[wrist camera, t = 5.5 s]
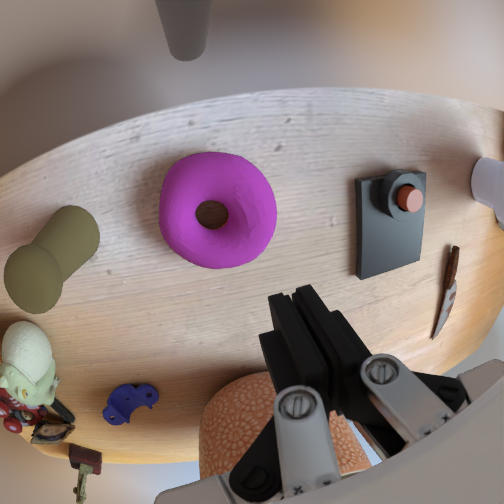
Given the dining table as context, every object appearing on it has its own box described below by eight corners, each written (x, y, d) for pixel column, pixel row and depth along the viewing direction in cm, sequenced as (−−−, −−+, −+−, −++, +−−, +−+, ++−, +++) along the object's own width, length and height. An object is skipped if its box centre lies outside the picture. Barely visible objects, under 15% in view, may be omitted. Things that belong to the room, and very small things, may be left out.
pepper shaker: (109, 251, 25) (72, 318, 15) (65, 268, 25) (21, 332, 15) (86, 196, 22) (28, 239, 13) (42, 217, 22) (-18, 266, 12)
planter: (308, 326, 34) (378, 452, 17) (330, 399, 43) (372, 483, 26) (164, 380, 33) (168, 510, 17) (225, 437, 43) (243, 525, 26)
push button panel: (354, 172, 27) (370, 177, 24) (419, 164, 28) (436, 169, 25) (355, 275, 32) (368, 288, 30) (414, 256, 34) (427, 266, 31)
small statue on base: (102, 462, 45) (103, 512, 32) (72, 455, 41) (70, 504, 28) (102, 450, 42) (103, 507, 29) (68, 441, 38) (65, 498, 25)
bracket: (96, 412, 29) (94, 401, 31) (117, 429, 30) (114, 419, 33) (146, 381, 32) (142, 371, 35) (164, 400, 34) (159, 390, 36)
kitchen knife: (447, 331, 44) (433, 343, 43) (442, 327, 45) (427, 339, 44) (471, 240, 34) (457, 250, 33) (464, 236, 35) (449, 246, 34)
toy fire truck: (15, 438, 26) (56, 436, 31) (-20, 399, 21) (25, 397, 26) (15, 411, 31) (53, 408, 36) (-15, 371, 26) (27, 367, 31)
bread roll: (29, 445, 28) (23, 429, 29) (61, 445, 35) (55, 431, 37) (42, 426, 28) (35, 408, 30) (78, 426, 35) (71, 410, 37)
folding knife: (77, 423, 34) (66, 423, 34) (78, 418, 35) (68, 418, 35) (42, 389, 30) (32, 390, 30) (44, 384, 31) (34, 385, 31)
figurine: (70, 332, 28) (45, 391, 19) (59, 395, 32) (46, 443, 23) (8, 297, 24) (-28, 345, 15) (10, 368, 28) (-10, 411, 19)
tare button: (396, 186, 25) (406, 190, 24) (413, 183, 26) (423, 187, 24) (396, 209, 27) (406, 214, 25) (412, 206, 27) (422, 210, 25)
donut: (167, 145, 22) (161, 148, 18) (278, 159, 25) (294, 165, 21) (159, 252, 26) (153, 274, 22) (259, 259, 29) (270, 281, 25)
